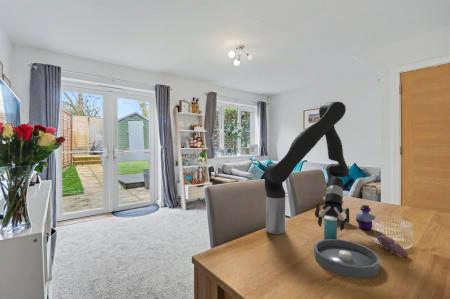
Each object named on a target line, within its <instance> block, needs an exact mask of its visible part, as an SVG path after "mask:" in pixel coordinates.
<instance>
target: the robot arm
mask: <svg viewBox="0 0 450 299" xmlns="http://www.w3.org/2000/svg"><path fill="white" fill-rule="evenodd" d="M318 109H319V110H318V115H319V119H318V120H317V121H315V122H314V123H312V124H310V125H309V126H307V127H305V129H303V130H301V132H300V133H299V134H298V135H297V136H296V137H295V138H294V139H293V141H292V142H291V145H290V147H289V149H288V151H287V152H286V154H285V155H284V157H283V158H281V159H280V161H279V162H277V163H276V162H275V163H274V162H273V163H269V164H267V165H266V167H265V169H264V189H265V195H266V196H265V233H268V234H271V235H272V234H273V235H282V234H284V233H286V191H285V190H286V189H285V188H284V185H283V183H284V182H285V181H286V180H287V179H288V178H289V176H290V175H291V174H292V172H293V171H294V169H295V168H297V166H298V164H299V163H300V162H301V161H302V160H303V159H305V157H306V156H307V155H308V153H310V151H312V150H313V148H314V147H315V146H316V145H317V144H318V143H319V141H321V139H323V137H324V136H325V137H324V138H325V139H326V140H325V141H326V147H327V156H328V160H330V161H334V162H337V163H330V164H328V165H327V166H326V167H325V171H326V176H327V186H326V187H327V188H326V191H325V196H324V197H325V201H324V203H323V205H320V204H319V203H317V204H316V208H315V211H314V215H315V218H318V220H317V225H318V226H319V228H321V227H322V224H323V220H324V216H327V215H328V216H334V217H338V218H339V220H340V227H339V230H340V231H343V230H345V223H348V224H349V223H350V208H349V207H347V208H343V204H342V201H343V199H344V192H343V191H344V180H343V179H342V178H346V177H348V175H349V172H350V170H349V167H348V164H347V163H346V160H345V157H344V151H343V149H344V148H343V143H342V140H341V138H340V136H339V134H338V132H337V130H336V127H335V125H336V124H337V123H338V122H340V121H341V119H343V117H344V116H345V113H346V111H347V110H346V109H347V108H346V104H345V103H343V102H342V101H328V102H324V103H322V104H321V105H320V107H319V108H318ZM322 209H323V211H321V210H322ZM320 211H321V213H320ZM342 213H343V214H345V218H344V217H343V215H342Z"/></svg>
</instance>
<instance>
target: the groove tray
mask: <svg viewBox="0 0 450 299" xmlns="http://www.w3.org/2000/svg"><path fill="white" fill-rule="evenodd" d="M313 256H314V259H315V262H316V263H318V264H319V266H321V267H322V268H324V269H326V270H327V271H330V272H331V273H332V272H333V273H334V274H337V275H340V276H343V277H346V278H353V279H354V278H355V279H369V278H374V277H376V276H377V275H378V274H380V256H379V255H378V254H377V252H376V251H373V250H372V249H370V248H368V247H367V246H364V245H362V244H360V243H357V242H355V241H353V242H352V241H349V240H344V239H338V238H337V239H326V240H324V239H322V240H318V241H317V242H316V243H315V244H314V246H313Z"/></svg>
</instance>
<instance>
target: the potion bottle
mask: <svg viewBox="0 0 450 299" xmlns="http://www.w3.org/2000/svg"><path fill="white" fill-rule="evenodd" d="M371 210H372V209H371V208H370V205H367V204H362V205H361V206H360V211H361V212H356V213H355V220H356V221H355V222H356V223H357V225H358V229H359V230H361V231H366V232H372V228H373V225H374V224H373V225H372V220H374V219H375V220H376V216H375V215H373V214H371V213H370V212H371Z"/></svg>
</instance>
